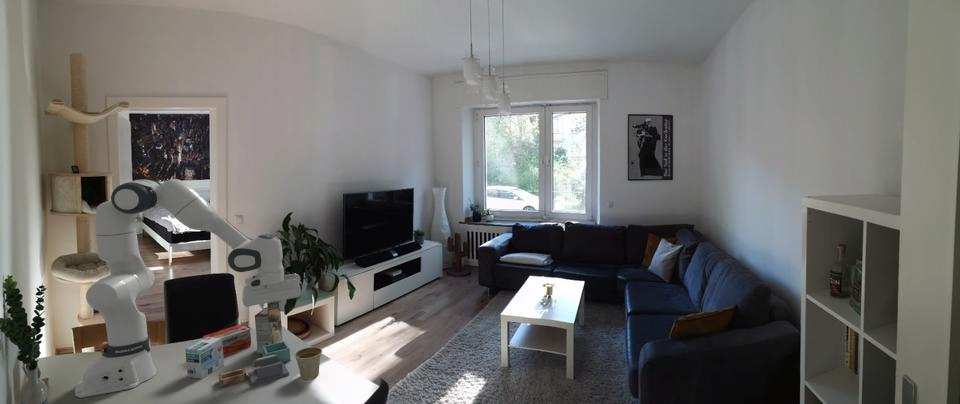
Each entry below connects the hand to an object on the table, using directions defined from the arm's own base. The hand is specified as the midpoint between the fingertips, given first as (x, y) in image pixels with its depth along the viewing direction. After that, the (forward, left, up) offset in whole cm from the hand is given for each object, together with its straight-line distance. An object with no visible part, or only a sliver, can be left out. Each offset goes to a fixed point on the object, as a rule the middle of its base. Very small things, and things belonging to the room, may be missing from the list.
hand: (273, 312), depth 173 cm
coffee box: (0, +12, -19) cm, 23 cm away
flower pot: (+7, -20, -19) cm, 29 cm away
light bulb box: (-23, +6, -19) cm, 31 cm away
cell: (0, 0, -3) cm, 3 cm away
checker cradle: (-5, -11, -19) cm, 22 cm away
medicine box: (-14, +21, -20) cm, 32 cm away
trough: (-16, -8, -19) cm, 26 cm away
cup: (0, 0, -19) cm, 19 cm away
